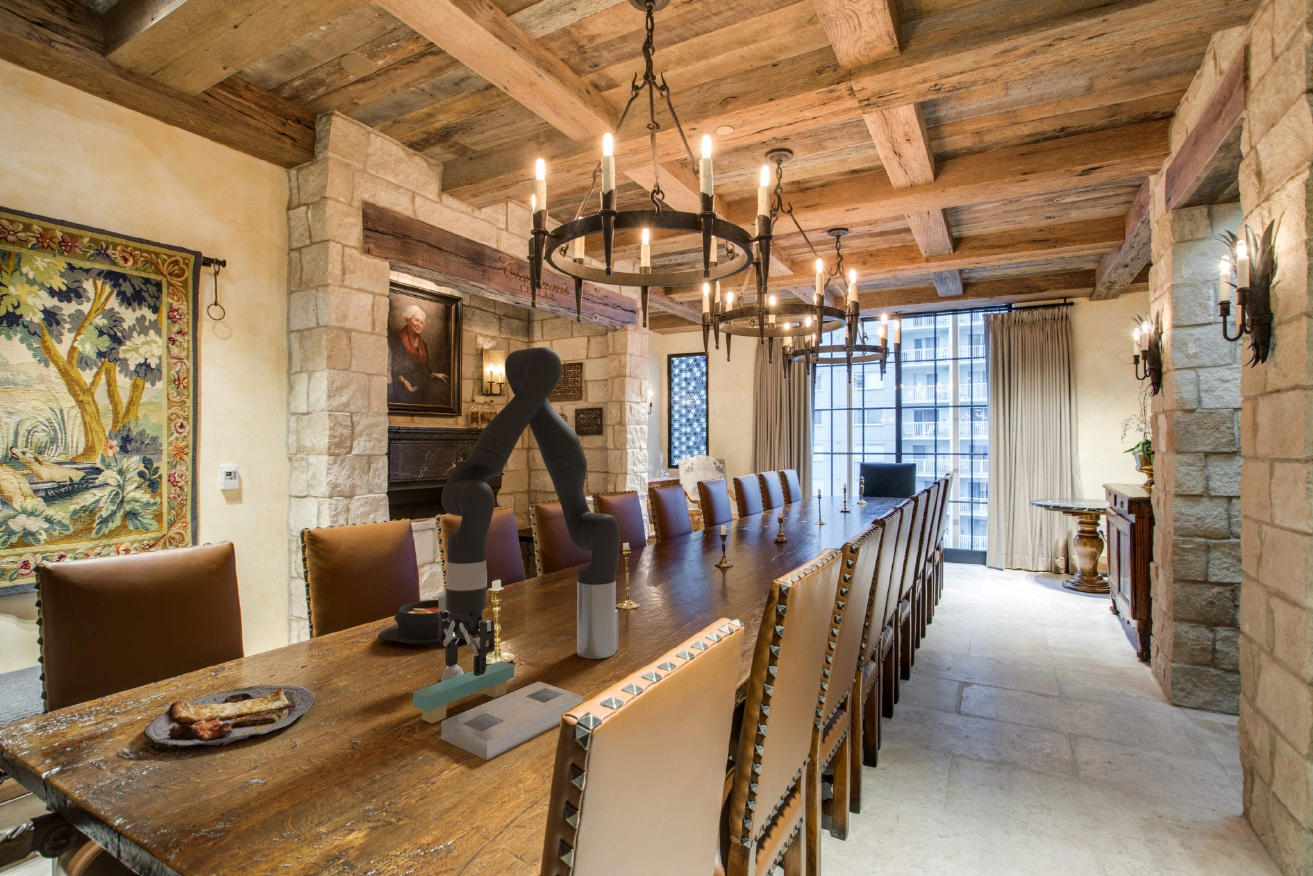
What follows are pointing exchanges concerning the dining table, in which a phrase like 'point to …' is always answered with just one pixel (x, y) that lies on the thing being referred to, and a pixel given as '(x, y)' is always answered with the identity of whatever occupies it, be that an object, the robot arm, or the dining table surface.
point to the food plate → (228, 715)
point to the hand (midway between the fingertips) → (465, 669)
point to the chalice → (455, 669)
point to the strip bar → (461, 690)
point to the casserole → (415, 624)
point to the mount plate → (508, 719)
